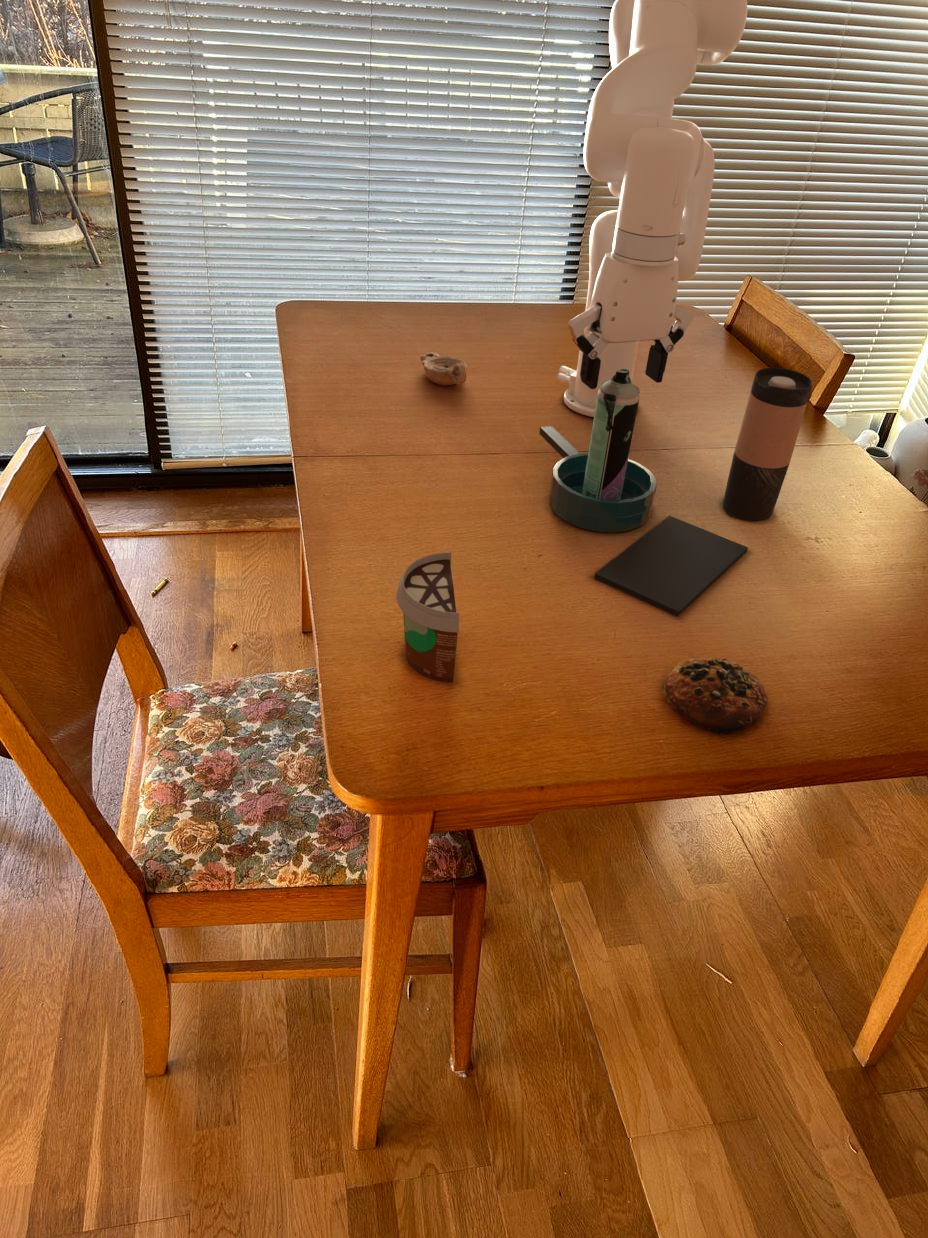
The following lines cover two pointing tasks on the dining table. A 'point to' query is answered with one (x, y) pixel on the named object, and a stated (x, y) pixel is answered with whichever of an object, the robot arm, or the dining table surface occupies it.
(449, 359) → the oil lamp
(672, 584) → the mat
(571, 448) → the pan handle
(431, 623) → the food container
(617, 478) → the spray can
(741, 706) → the bread roll
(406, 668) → the dining table surface
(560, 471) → the pan
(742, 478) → the travel mug
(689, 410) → the dining table surface
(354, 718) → the dining table surface
